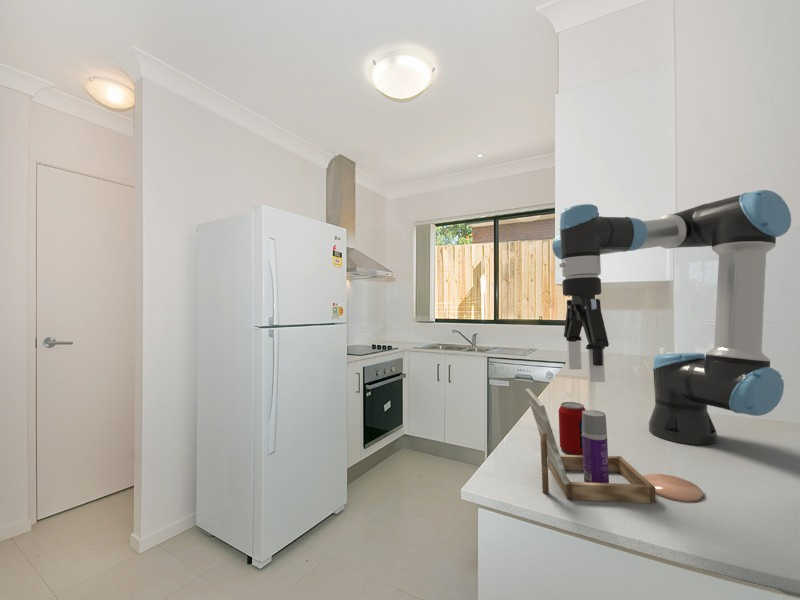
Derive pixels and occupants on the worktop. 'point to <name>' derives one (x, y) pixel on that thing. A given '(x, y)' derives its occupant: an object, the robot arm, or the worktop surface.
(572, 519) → the worktop surface
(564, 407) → the beverage can
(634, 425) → the worktop surface
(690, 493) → the saucer
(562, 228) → the robot arm
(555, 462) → the wooden frame
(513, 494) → the worktop surface
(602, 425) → the container
